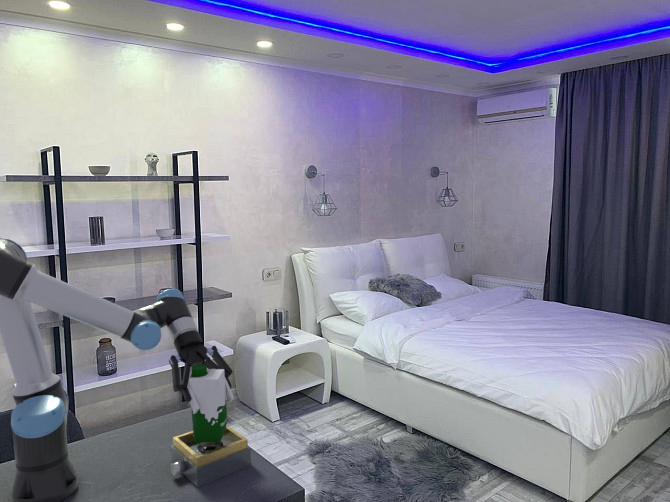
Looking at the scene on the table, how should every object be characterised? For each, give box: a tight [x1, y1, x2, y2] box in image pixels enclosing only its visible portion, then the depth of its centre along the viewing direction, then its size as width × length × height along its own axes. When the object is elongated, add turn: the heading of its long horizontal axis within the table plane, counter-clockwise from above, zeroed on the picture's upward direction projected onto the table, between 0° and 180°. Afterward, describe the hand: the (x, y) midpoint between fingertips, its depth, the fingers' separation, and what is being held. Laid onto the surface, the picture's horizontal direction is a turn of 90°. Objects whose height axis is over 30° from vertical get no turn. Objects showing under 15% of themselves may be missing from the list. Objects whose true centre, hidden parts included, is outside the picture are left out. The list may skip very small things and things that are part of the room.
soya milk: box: [188, 364, 228, 442], centre depth 143 cm, size 9×9×20 cm
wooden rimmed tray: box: [169, 424, 252, 488], centre depth 143 cm, size 19×16×8 cm
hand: (214, 405), depth 141 cm, fingers closed on soya milk, 9 cm apart
